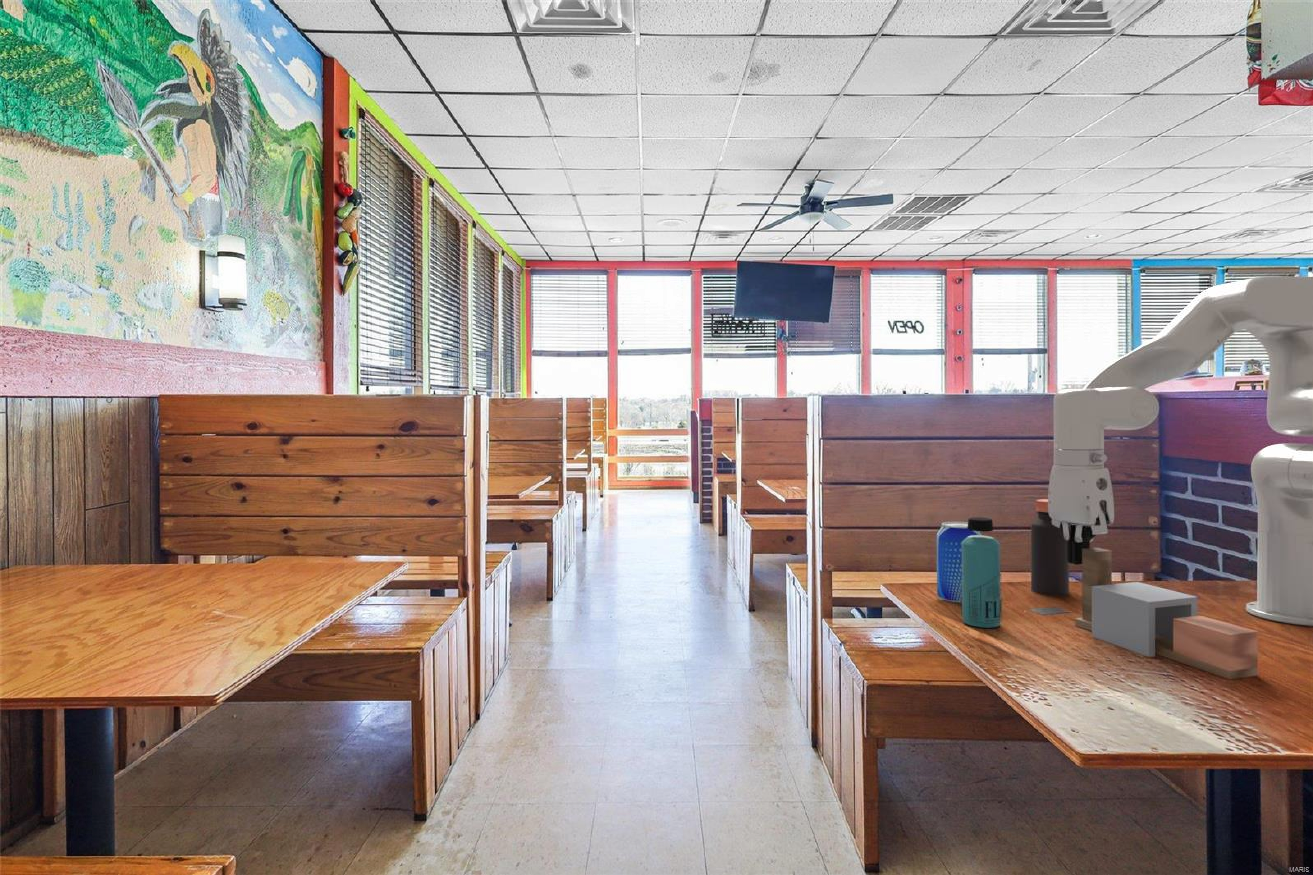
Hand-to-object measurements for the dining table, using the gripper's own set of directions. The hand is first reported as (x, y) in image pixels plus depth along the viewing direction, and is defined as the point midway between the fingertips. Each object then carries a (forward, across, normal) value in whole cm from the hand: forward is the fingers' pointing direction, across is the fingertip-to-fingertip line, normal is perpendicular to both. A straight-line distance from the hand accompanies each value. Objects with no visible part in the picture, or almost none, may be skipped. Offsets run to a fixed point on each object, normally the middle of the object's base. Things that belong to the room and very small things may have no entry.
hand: (1078, 562), depth 121 cm
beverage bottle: (+12, +4, +17) cm, 21 cm away
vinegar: (+12, +18, -11) cm, 24 cm away
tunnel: (+12, -12, 0) cm, 17 cm away
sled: (+10, -15, 0) cm, 18 cm away
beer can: (+12, +20, +9) cm, 25 cm away
